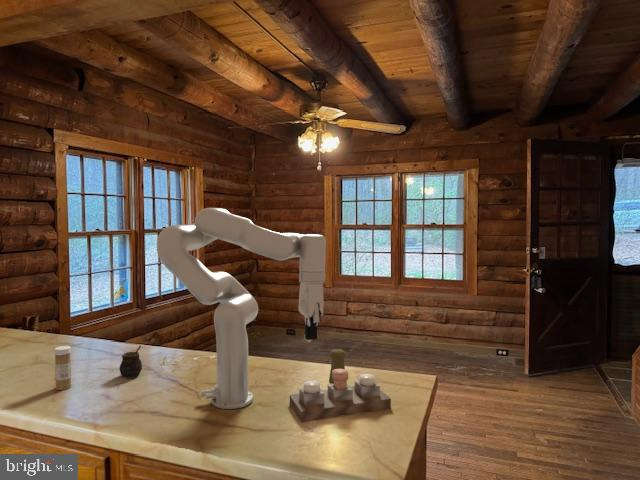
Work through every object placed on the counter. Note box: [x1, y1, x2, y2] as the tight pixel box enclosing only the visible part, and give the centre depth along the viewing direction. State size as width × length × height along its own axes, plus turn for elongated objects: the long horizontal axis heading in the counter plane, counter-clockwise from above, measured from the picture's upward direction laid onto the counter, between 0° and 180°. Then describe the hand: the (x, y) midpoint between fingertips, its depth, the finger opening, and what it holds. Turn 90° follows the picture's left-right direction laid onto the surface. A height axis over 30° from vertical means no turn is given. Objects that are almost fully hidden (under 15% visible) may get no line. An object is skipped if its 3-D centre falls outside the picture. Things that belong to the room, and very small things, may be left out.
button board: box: [289, 380, 392, 423], centre depth 129 cm, size 28×12×6 cm, turn 110°
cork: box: [328, 348, 346, 384], centre depth 149 cm, size 6×6×11 cm
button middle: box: [332, 368, 349, 390], centre depth 129 cm, size 5×5×5 cm
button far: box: [358, 373, 376, 386], centre depth 132 cm, size 5×5×5 cm
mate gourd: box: [119, 345, 143, 379], centre depth 152 cm, size 7×8×10 cm
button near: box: [303, 380, 321, 394], centre depth 126 cm, size 5×5×5 cm
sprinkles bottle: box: [53, 345, 72, 391], centre depth 140 cm, size 5×5×13 cm
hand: (310, 338), depth 126 cm, fingers closed
